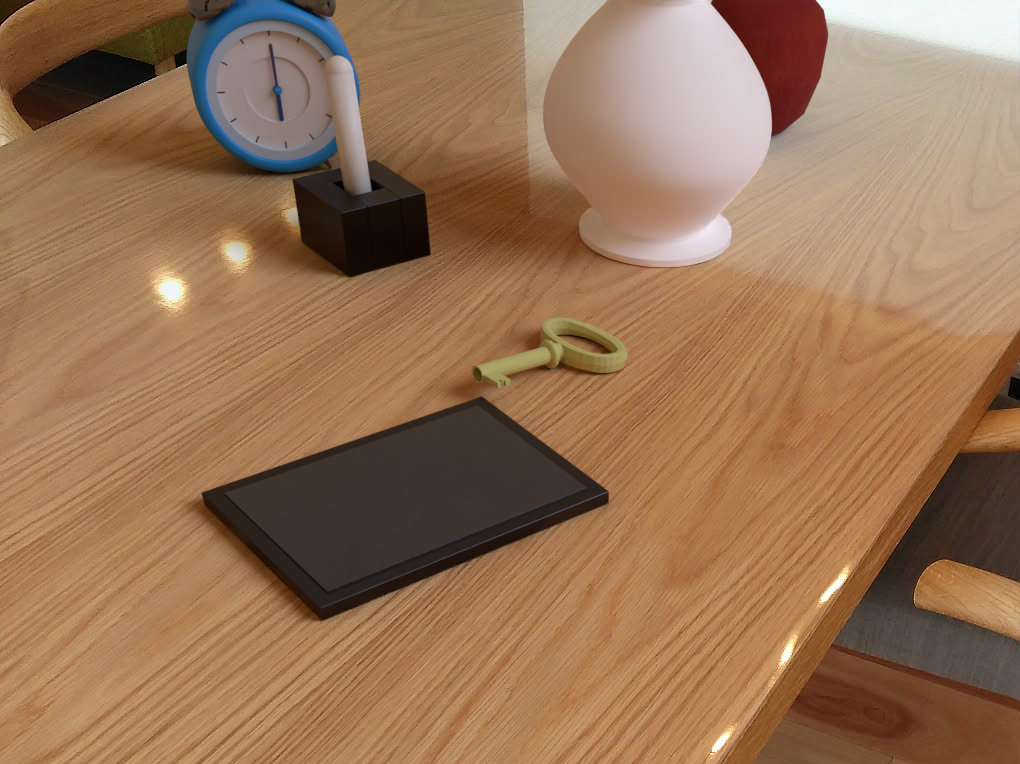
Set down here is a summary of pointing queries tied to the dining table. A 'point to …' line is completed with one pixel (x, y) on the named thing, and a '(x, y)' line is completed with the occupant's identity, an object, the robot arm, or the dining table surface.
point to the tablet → (402, 504)
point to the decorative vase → (657, 128)
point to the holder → (362, 220)
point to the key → (556, 353)
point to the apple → (781, 49)
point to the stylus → (347, 125)
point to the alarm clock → (266, 79)
